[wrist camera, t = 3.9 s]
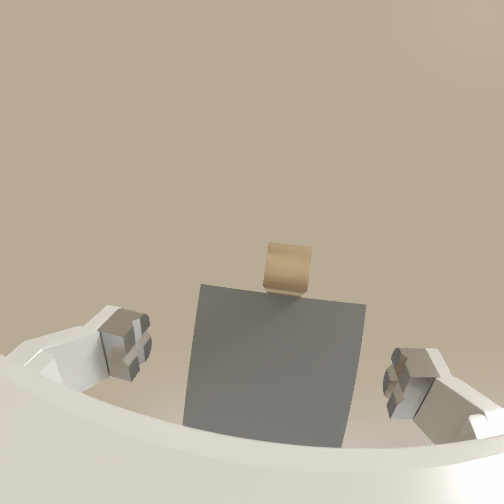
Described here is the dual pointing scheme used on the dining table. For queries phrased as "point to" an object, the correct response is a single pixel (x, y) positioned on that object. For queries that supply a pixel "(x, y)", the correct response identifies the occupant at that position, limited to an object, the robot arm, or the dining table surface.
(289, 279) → the wooden bar
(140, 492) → the robot arm
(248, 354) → the stand
